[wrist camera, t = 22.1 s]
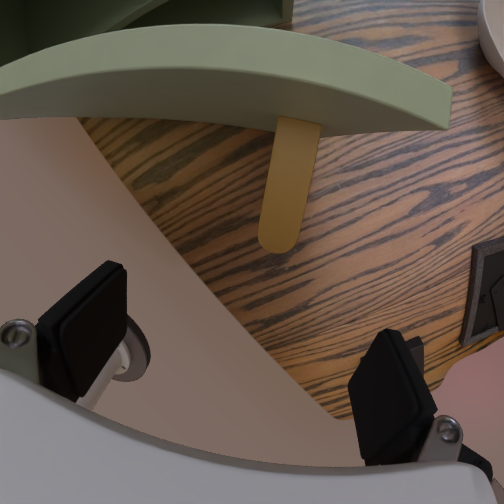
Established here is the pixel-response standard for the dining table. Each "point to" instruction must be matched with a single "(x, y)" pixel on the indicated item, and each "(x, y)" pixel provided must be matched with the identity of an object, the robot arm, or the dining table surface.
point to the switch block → (416, 352)
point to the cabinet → (119, 19)
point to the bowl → (492, 32)
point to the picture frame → (484, 293)
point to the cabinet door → (233, 94)
